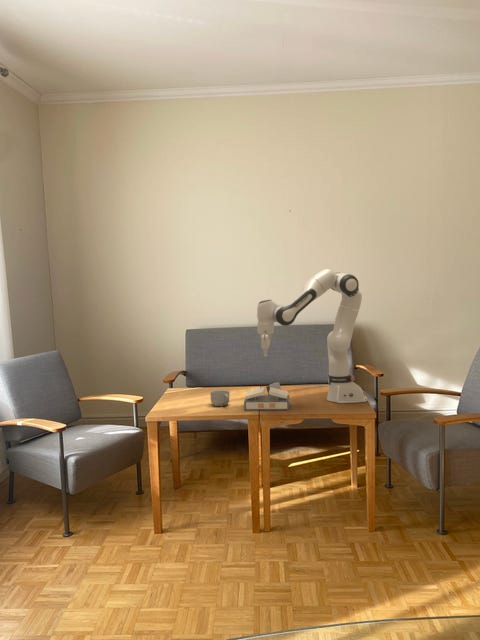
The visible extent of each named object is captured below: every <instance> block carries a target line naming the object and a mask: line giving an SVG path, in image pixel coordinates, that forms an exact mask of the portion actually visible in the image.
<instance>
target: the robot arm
mask: <svg viewBox="0 0 480 640" xmlns="http://www.w3.org/2000/svg"><path fill="white" fill-rule="evenodd" d="M359 287H360V286H359V279H358V278H357V277H356V276H355V275H353V274H350V273H346V272H335V271H333V270H332V269H330V268H324V269H323V270H321V271H319V272H317V273H316V274H314V275H313V276H312V277H310V278H308V280H307V281H306V282H305V283H304V284H303V285H302V293H301V295H300V296H298V297H297V298H296V299H295V300H294V301H293V302H291V303H290V304H289V305H282V304H278V303H277V302H275V301H273V300H272V299H264V300H262V301H260V302H259V303H258V304H257V308H256V309H257V310H256V311H257V314H256V316H257V317H256V318H257V326H256V327H257V334H258V335H259V337H260V338H261V339H260V340H261V341H260V342H261V346H260V348H261V350H263V357H264V358H267V357H268V355H269V348H270V345H271V343H272V342H271V340H272V335H273V334H275V329H274V328H275V326H274V325H275V323H277V324H279V325H280V326H287V327H288V326H290V325H292V324H293V323H294V322H295V320H296V318H297V316H299V313H301V312H302V311H303V310H304V309H306V308H307V306H309V305H310V304H311V303H312V302H314V301H315V300H317V299H318V298H319V297H322V296H323V294H325V293H326V292H327V291H329V290H330V289H331V290H332V291H335V292H337V293H341V301H340V303H339V307H338V309H337V312H336V316H335V318H334V325H333V329H332V331H330V332H329V333H328V335H327V337H326V338H327V339H326V343H327V344H326V345H327V356H328V377H327V381H328V383H327V384H328V390H327V391H328V393H327V397H326V400H327V401H329V402H332V403H337V404H351V403H366V402H367V401H368V397H367V396H366V395H364V391H363V389H362V387H360V385H358V384H357V383H355V382H354V380H355V378H354V376H352V375H351V374H350V370H349V369H350V365H349V364H350V361H349V355H348V350H349V348H350V346H351V342H352V338H353V334H354V328H355V323H356V322H357V321H356V320H357V319H358V318H357V317H358V315H359V312H360V309H361V304H362V298H363V296H362V295H363V294H362V292H361V291H360V290H359V289H360V288H359Z"/></svg>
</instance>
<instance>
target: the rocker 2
mask: <svg viewBox="0 0 480 640" xmlns="http://www.w3.org/2000/svg"><path fill="white" fill-rule="evenodd" d="M269 395H273V396H277V397H281V398H285V399H287V395H289V391H288V390H283V389H281V390H280V389H276V388H272V387H270V390H269Z"/></svg>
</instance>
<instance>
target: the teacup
mask: <svg viewBox="0 0 480 640" xmlns="http://www.w3.org/2000/svg"><path fill="white" fill-rule="evenodd" d="M209 392H210V393H209V394H210V402H211V404H212V405H213V406H215V407H225V406H227V404H229V402H230V391H229V390H223V389H215V390H211V391H209Z"/></svg>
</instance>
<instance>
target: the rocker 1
mask: <svg viewBox="0 0 480 640" xmlns="http://www.w3.org/2000/svg"><path fill="white" fill-rule="evenodd" d="M265 393H266V387H261V388H257V389H256V388H255V389H254V390H249V391H247V392H246V395H245V398H246V399H249V398H253V397H256V396H260V395H265Z"/></svg>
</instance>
